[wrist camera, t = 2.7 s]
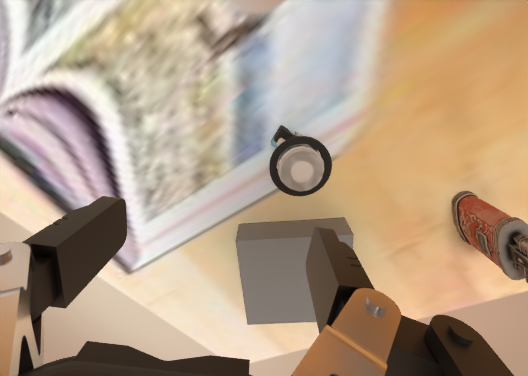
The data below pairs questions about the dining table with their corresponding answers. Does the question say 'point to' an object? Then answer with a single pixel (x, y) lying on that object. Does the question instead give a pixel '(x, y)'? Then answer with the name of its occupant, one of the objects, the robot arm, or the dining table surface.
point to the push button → (299, 163)
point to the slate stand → (280, 268)
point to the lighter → (492, 233)
